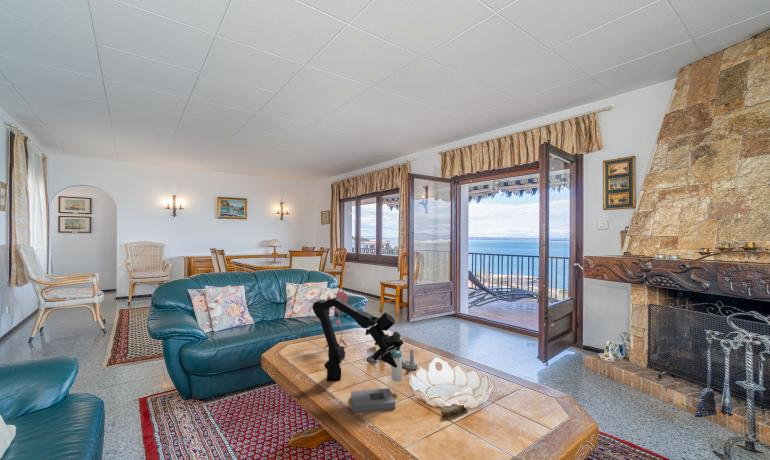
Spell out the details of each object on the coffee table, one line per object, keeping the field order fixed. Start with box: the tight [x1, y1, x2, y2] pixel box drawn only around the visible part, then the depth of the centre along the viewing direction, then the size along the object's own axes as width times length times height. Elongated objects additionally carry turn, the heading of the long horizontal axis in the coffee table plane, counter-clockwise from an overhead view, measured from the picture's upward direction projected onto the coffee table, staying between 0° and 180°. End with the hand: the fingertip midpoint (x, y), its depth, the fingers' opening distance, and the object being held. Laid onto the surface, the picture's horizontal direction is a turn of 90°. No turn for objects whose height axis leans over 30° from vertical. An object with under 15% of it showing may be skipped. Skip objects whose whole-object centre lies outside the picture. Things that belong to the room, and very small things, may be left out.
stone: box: [440, 397, 465, 419], centre depth 140 cm, size 14×7×5 cm, turn 140°
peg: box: [391, 350, 403, 382], centre depth 159 cm, size 4×4×12 cm
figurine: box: [326, 289, 353, 347], centre depth 224 cm, size 15×26×35 cm, turn 46°
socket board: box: [350, 387, 396, 413], centre depth 148 cm, size 17×13×2 cm
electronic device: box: [402, 348, 418, 371], centre depth 189 cm, size 5×10×15 cm
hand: (399, 365), depth 158 cm, fingers closed on peg, 4 cm apart
